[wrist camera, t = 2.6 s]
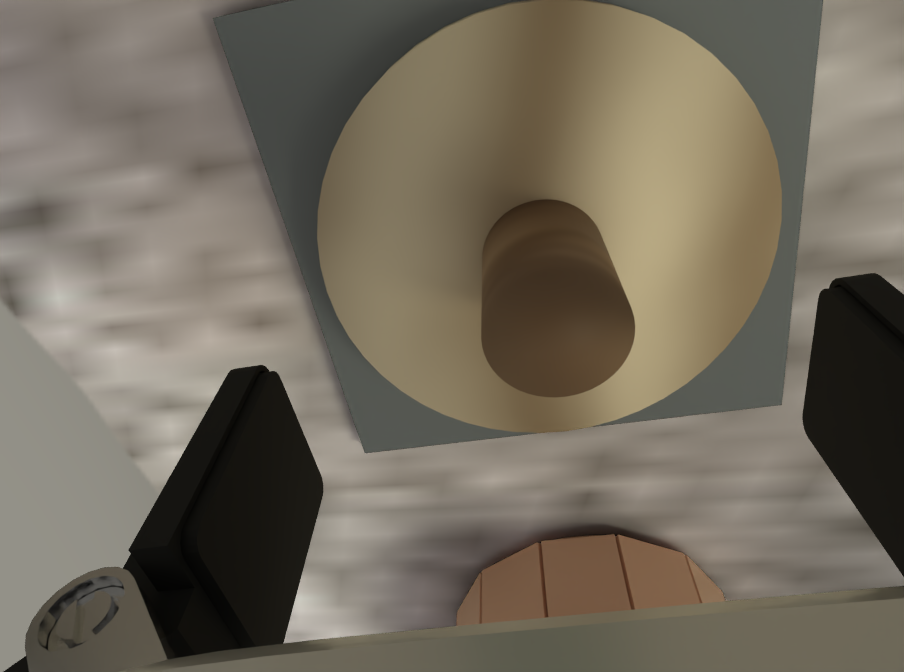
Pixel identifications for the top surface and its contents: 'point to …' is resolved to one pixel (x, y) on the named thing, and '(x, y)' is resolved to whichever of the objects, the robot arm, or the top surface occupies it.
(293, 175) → the mat
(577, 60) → the lid
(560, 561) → the bowl
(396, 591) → the top surface
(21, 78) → the top surface
